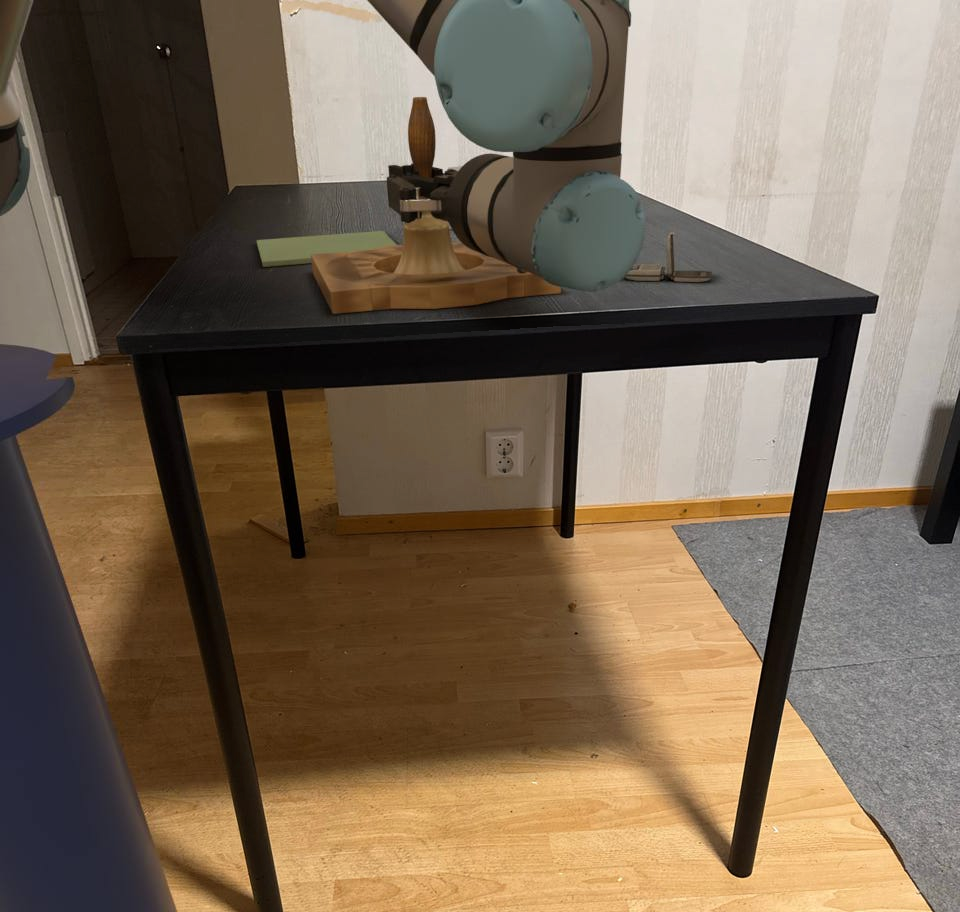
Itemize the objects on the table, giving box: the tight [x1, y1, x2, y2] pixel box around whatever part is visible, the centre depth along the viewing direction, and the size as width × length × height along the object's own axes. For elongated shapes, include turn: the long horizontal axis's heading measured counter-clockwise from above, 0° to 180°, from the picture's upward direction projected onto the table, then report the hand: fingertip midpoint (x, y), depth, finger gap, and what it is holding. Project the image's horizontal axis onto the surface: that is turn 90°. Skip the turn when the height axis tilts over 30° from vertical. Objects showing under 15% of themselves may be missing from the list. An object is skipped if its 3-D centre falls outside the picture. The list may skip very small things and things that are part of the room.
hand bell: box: [393, 96, 465, 275], centre depth 85 cm, size 8×8×16 cm
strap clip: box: [624, 231, 713, 283], centre depth 87 cm, size 8×3×4 cm, turn 76°
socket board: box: [311, 242, 562, 315], centre depth 89 cm, size 22×21×2 cm
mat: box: [256, 230, 398, 268], centre depth 106 cm, size 16×14×1 cm
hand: (404, 179), depth 89 cm, fingers closed on hand bell, 2 cm apart
